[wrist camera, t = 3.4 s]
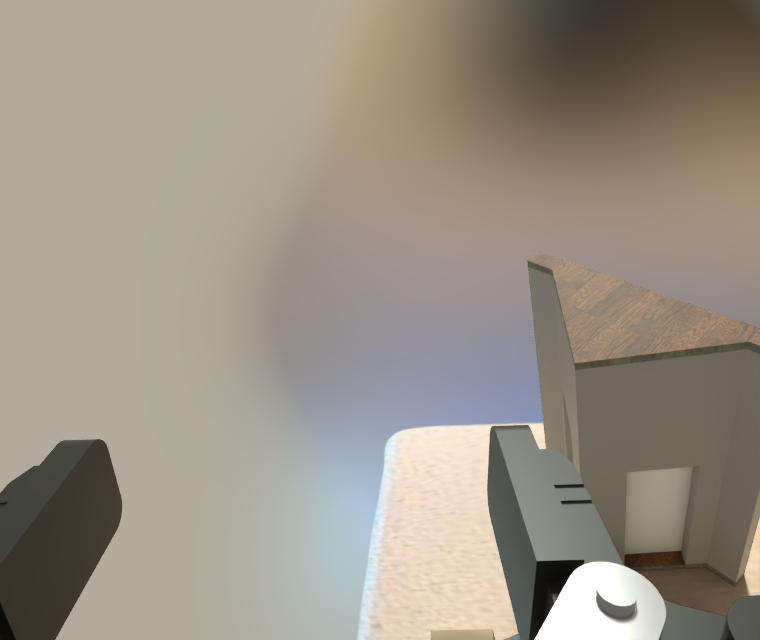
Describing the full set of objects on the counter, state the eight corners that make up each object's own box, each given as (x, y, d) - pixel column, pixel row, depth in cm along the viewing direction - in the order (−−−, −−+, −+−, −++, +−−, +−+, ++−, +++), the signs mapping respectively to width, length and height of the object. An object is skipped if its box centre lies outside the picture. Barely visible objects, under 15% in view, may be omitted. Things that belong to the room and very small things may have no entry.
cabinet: (744, 574, 53) (805, 344, 36) (684, 652, 49) (723, 436, 33) (556, 453, 68) (539, 251, 51) (499, 506, 64) (462, 307, 47)
